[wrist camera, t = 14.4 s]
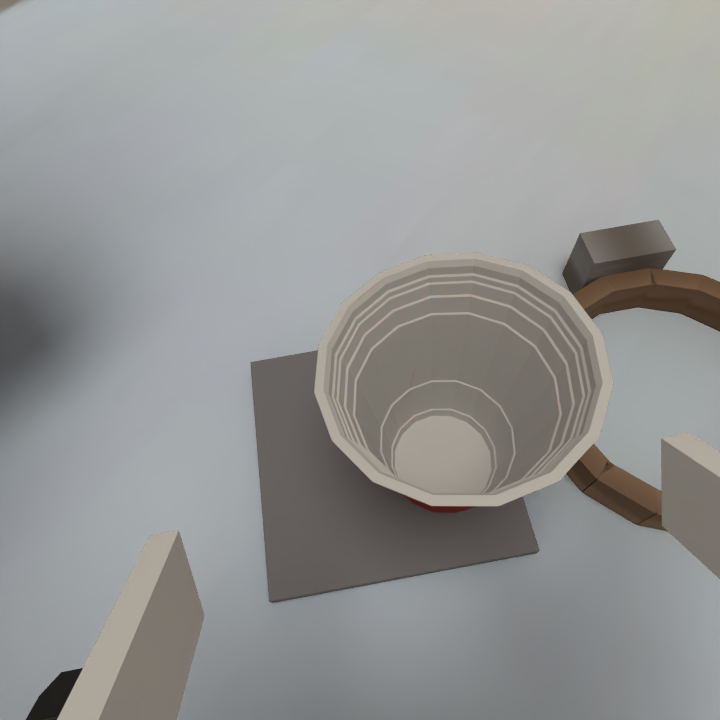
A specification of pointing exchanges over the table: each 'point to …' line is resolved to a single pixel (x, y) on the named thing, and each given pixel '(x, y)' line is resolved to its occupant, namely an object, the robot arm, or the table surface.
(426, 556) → the rubber pad
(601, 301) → the walnut collar
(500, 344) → the plastic cup
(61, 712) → the robot arm
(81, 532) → the table surface
